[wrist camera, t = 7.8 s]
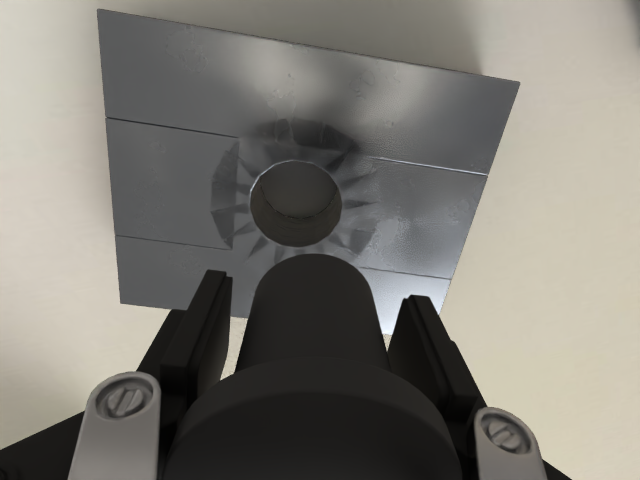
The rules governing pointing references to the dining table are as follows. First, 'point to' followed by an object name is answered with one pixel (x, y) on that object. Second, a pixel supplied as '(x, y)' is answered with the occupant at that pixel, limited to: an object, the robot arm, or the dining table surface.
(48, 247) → the dining table surface
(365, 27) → the dining table surface
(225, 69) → the grey block with hole
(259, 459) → the stopper
